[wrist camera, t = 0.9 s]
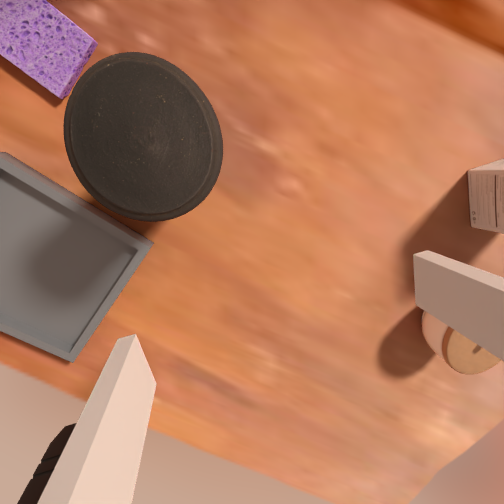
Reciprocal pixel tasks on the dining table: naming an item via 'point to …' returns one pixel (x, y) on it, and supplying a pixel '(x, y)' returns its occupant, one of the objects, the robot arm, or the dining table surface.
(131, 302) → the dining table surface
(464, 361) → the lidded jar
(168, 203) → the container
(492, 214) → the supplement box
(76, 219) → the slate tray
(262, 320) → the dining table surface
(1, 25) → the sponges
